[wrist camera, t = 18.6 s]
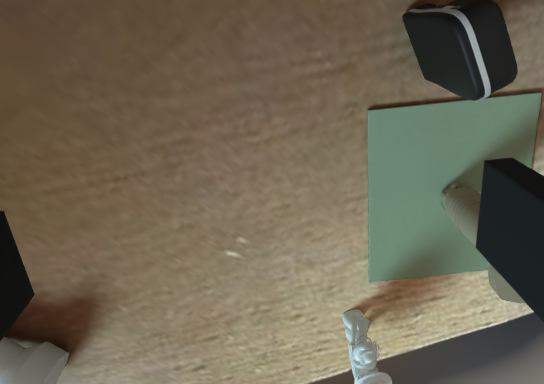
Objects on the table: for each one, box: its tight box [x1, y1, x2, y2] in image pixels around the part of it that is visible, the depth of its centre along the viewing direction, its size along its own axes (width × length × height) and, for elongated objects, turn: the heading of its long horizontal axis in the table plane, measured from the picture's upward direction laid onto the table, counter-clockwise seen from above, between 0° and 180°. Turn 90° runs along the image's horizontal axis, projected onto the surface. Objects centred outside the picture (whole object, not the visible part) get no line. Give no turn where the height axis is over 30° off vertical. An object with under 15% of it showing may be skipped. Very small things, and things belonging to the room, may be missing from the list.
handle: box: [440, 183, 526, 303], centre depth 40 cm, size 5×6×15 cm
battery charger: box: [402, 0, 518, 101], centre depth 36 cm, size 7×4×11 cm, turn 28°
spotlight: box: [0, 337, 69, 384], centre depth 50 cm, size 8×11×8 cm
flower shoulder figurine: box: [342, 309, 392, 384], centre depth 48 cm, size 9×4×12 cm, turn 9°
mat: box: [367, 92, 542, 282], centre depth 47 cm, size 20×17×1 cm
